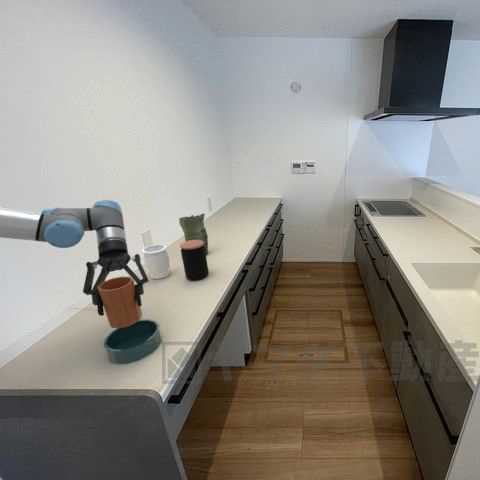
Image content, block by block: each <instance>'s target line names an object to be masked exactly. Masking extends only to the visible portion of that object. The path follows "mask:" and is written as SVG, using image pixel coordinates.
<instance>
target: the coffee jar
mask: <svg viewBox="0 0 480 480" xmlns="http://www.w3.org/2000/svg"><path fill="white" fill-rule="evenodd" d="M179 247H180V254H181V259H182V264H183V269H184V275H185V278H186V279H187V280H188V281H192V282H197V281H201V280H205V278H207V277H208V275H209V265H208V260H207V259H208V258H207V254H206V252H205V247H204V242H203V241H202V240H190V241H183V242H181V243H180V244H179Z"/></svg>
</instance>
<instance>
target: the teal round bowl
mask: <svg viewBox="0 0 480 480" xmlns="http://www.w3.org/2000/svg"><path fill="white" fill-rule="evenodd" d="M162 339H163V335H162V330H161V328H160V324H159V323H158V321H156V320H153V319H150V318H148V319H147V318H146V319H140V320H138V321H137V322H136V323H134V324H132V325H130V326H127V327H123V328H114V330H112V331H111V332H109V334H108V335H107V336H106V337H105V338H104V341H103V345H102V346H103V348H104V351H105V353H106V356H107V358H108V361H109V362H111V363H113V364H116V365H124V364H131V363H134V362H137V361H140V360H142V359H144V358H146V357H148V356H150V355H151V354H153V352H155V351H156V350H157V349H158V348H159V347H160V345H161V344H162V342H163V340H162Z"/></svg>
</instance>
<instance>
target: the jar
mask: <svg viewBox="0 0 480 480" xmlns="http://www.w3.org/2000/svg"><path fill="white" fill-rule="evenodd" d="M167 249H168V248H167V246H166V245H165V244H153V245H148V246H146V247H144V248H143V249H142V250H141V252H142V254H143V259H144V264H145V266H146V268H147V271H148V272H149V274H150V278H151V279H154V280H160V279H165V278H166V277H168V276H169V275H170V274H171V273H170V271H169V270H170V257H169V253H168V251H167Z"/></svg>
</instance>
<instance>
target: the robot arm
mask: <svg viewBox="0 0 480 480" xmlns="http://www.w3.org/2000/svg"><path fill="white" fill-rule="evenodd" d="M93 231H95V233H96V244H97V251H98V259H97V260H96V261H92V262H91V261H87V262H86V263H85V265H86V268H87V269H86V274H85V279H84V284H83V289H82V293H83V294H85V295H86V296H91V302H92V305H93V306H96V307H97V315H99V317H103V316H105V310H104V307H103V304H102V301H101V298H100V295H99V291H98V288H97V287H98V286H99V285H100V284H101V283H102V282H104V281H106V279H107V277H108V276H109V275H110V272H116V271H122V270H124V271H125V272H126V273H127V274H128V276H129V277H131V278H132V279H133V281H134V283H136V284H134V285H135V291H136V298H137V304H138V306H140V307H142V306H143V303H142V297H141V296H143V295H145V290H144V284H147V283H149V281H150V280H149V277H148V275H147V273H146V271H145V269H144V267H143V265H142V263H141V255H140V254H139V253H135V255H133V254H132V255H130V254H129V249H128V243H127V236H126V231H125V223H124V215H123V211H122V206H121V205H120V204H119V203H118V202H117V201H114V200H111V199H102V200H98V201H95V202H94V203H93V206H92V207H63V208H62V207H55V208H45V209H43V210H42V211H41V212H35V211H27V210H21V209H14V208H8V207H1V206H0V238H2V239H11V240H21V241H22V240H23V241H32V242H33V241H34V242H41V243H47V244H48V245H51V246H53V247H54V248H59V249H68V248H72V247H75V246H76V245H78V244H79V243H80V242H81V241H82V239H83V237H84V235H85V232H93ZM131 260H132V262H133V263H135V264H136V267H137V268H138V271H139V273H140V275H141V278H140V277H139V276H138V275H137V274H136V273H135V272H134V271H133V270H132V269H131V268H130V266H129V265H128V264H129V262H130V261H131ZM98 266H100V267H101V269H100V272H99V274H98V277H97V279H96V280H95V282H94V279H95V274H96V270H97V268H98Z"/></svg>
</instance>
